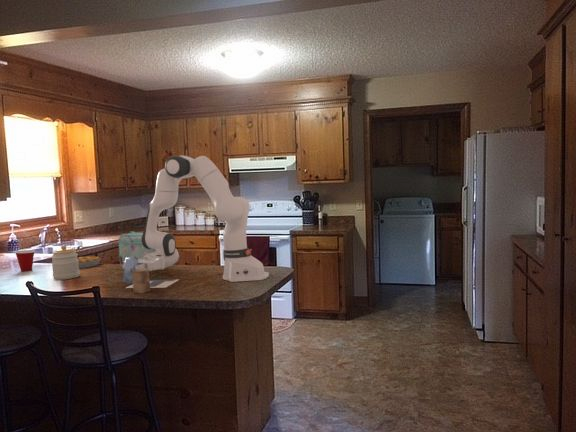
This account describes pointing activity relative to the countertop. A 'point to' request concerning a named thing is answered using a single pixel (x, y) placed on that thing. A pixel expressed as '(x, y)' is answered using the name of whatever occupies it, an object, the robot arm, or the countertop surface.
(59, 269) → the jar
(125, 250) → the lunch box
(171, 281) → the letter board
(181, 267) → the countertop surface
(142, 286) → the walnut block
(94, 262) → the pie
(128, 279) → the canister
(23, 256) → the plastic cup
